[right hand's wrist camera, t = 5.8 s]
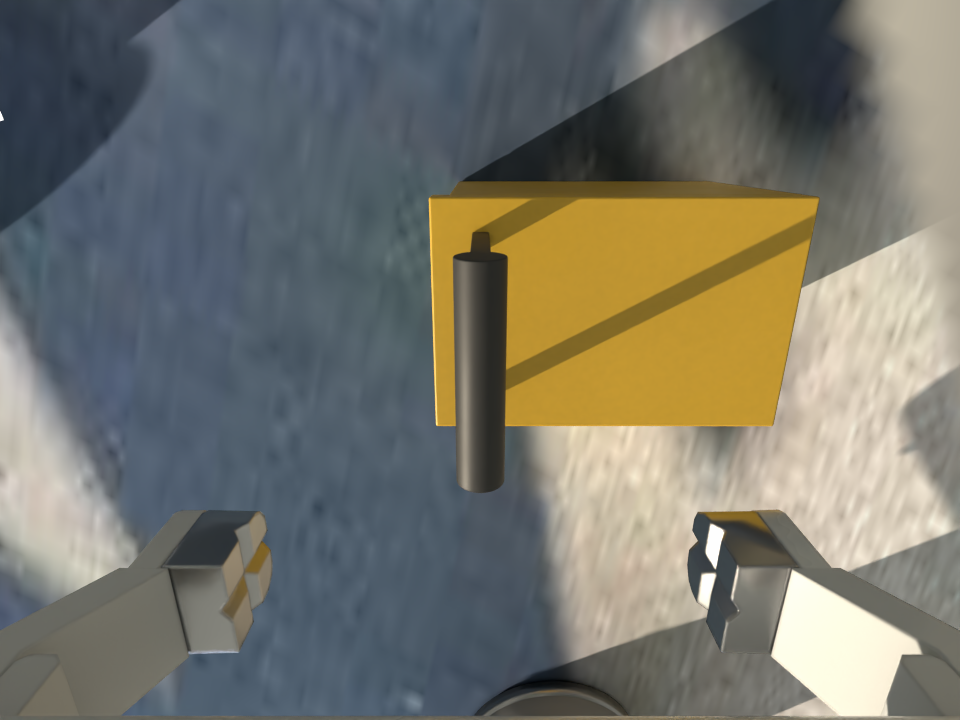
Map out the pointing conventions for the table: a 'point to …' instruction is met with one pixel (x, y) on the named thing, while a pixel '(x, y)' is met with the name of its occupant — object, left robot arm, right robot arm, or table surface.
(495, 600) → the table surface
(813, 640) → the right robot arm
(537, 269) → the lid
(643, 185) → the chest
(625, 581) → the table surface
